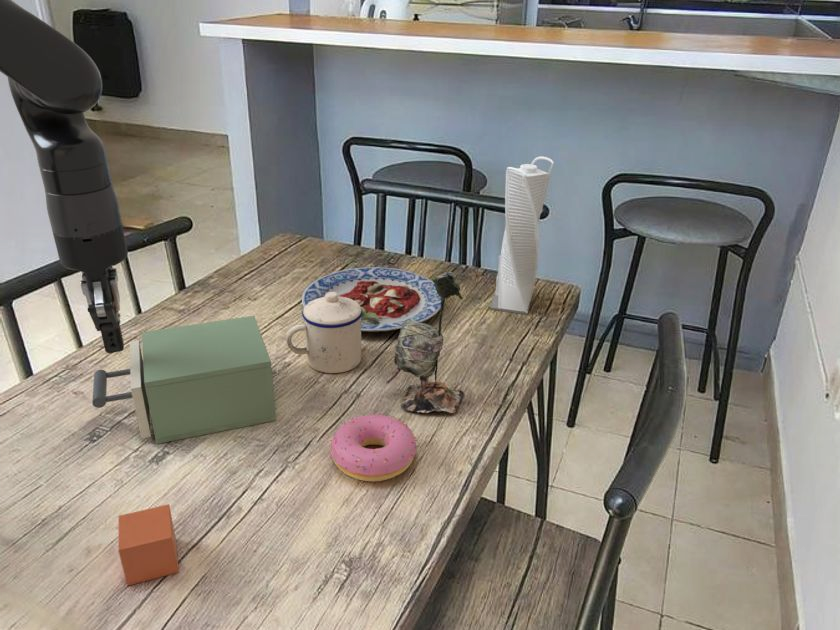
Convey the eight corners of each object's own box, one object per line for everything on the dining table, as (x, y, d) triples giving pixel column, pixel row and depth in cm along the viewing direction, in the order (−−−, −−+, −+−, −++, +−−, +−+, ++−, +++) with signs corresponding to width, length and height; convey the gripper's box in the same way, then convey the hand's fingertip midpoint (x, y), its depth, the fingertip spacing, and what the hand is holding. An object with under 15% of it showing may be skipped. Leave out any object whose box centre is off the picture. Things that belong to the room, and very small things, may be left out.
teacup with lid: (351, 341, 114) (349, 277, 108) (371, 367, 106) (370, 301, 101) (280, 355, 109) (275, 289, 104) (296, 384, 102) (291, 315, 96)
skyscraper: (539, 299, 129) (556, 152, 116) (534, 318, 122) (552, 164, 109) (495, 293, 131) (507, 148, 118) (488, 312, 124) (500, 160, 111)
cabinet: (156, 444, 89) (144, 382, 84) (152, 389, 100) (141, 331, 95) (276, 420, 94) (270, 361, 89) (259, 370, 105) (254, 315, 101)
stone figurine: (403, 376, 104) (404, 256, 95) (471, 396, 100) (480, 272, 91) (377, 403, 98) (376, 277, 89) (449, 426, 94) (455, 295, 84)
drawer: (99, 447, 87) (86, 396, 83) (101, 394, 97) (90, 347, 93) (254, 416, 93) (249, 368, 89) (241, 370, 103) (236, 325, 100)
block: (127, 586, 69) (118, 550, 67) (126, 550, 73) (118, 515, 71) (179, 572, 70) (172, 537, 68) (175, 538, 75) (169, 503, 72)
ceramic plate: (347, 267, 140) (347, 254, 139) (464, 293, 131) (465, 279, 130) (273, 320, 119) (272, 305, 118) (405, 355, 110) (406, 339, 109)
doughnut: (326, 437, 91) (325, 412, 89) (406, 428, 93) (407, 402, 91) (336, 493, 81) (334, 466, 79) (425, 481, 84) (426, 454, 82)
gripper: (56, 208, 84) (85, 330, 92) (46, 247, 73) (81, 381, 81) (121, 202, 87) (144, 322, 95) (121, 239, 76) (147, 370, 84)
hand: (115, 349), depth 88 cm, fingers closed
